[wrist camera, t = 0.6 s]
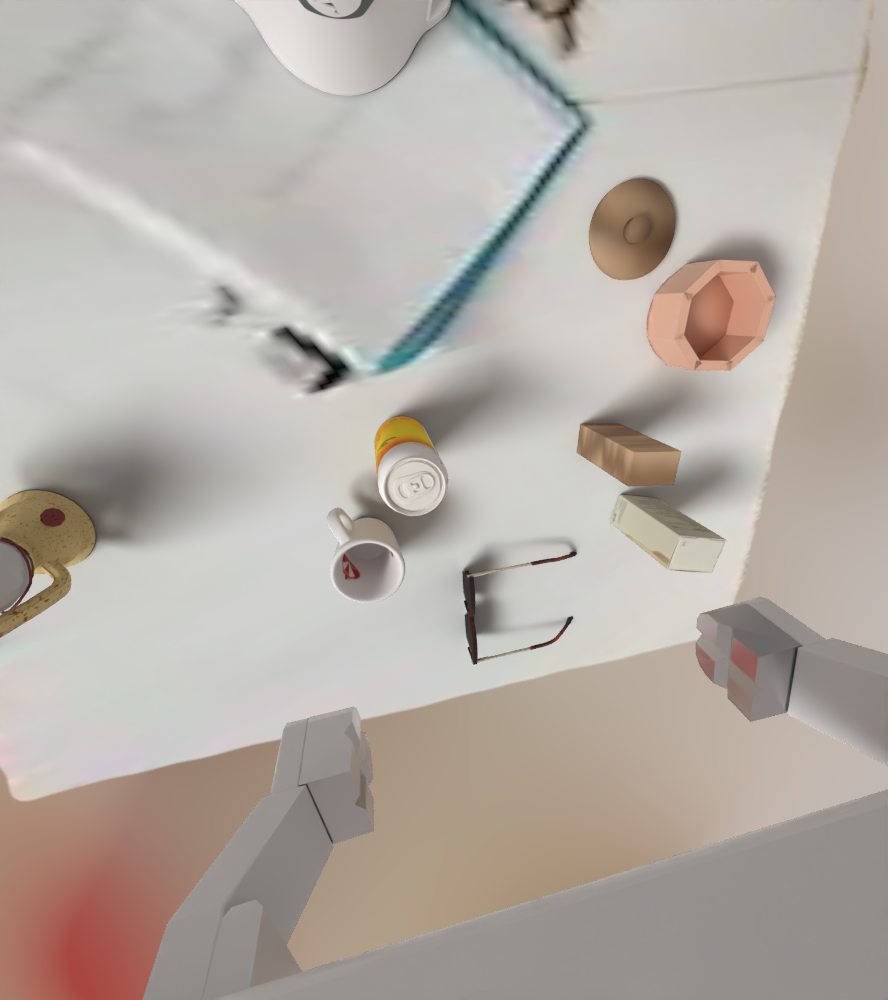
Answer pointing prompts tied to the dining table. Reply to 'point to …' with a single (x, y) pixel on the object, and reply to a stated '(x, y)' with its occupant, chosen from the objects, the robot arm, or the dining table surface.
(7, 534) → the lantern
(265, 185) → the dining table surface
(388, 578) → the cup
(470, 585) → the sunglasses
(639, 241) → the jar lid
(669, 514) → the skincare box
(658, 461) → the brown wooden block
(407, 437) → the beer can
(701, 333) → the jar
